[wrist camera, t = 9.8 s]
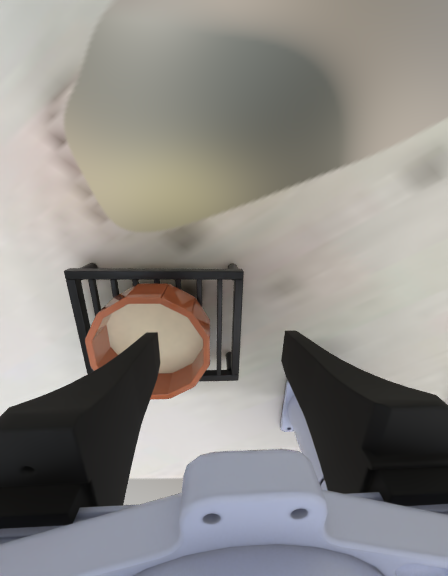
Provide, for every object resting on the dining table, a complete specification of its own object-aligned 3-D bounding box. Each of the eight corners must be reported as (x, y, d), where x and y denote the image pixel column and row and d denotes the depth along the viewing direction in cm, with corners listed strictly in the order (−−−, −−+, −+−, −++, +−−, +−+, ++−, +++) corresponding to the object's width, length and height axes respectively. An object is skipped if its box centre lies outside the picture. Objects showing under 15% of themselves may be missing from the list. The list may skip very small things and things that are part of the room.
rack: (239, 262, 22) (243, 271, 19) (235, 359, 25) (238, 380, 22) (84, 261, 21) (63, 271, 18) (104, 362, 25) (89, 384, 22)
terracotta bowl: (209, 283, 19) (209, 297, 16) (210, 372, 22) (209, 397, 19) (95, 283, 18) (74, 297, 15) (112, 375, 21) (97, 401, 18)
